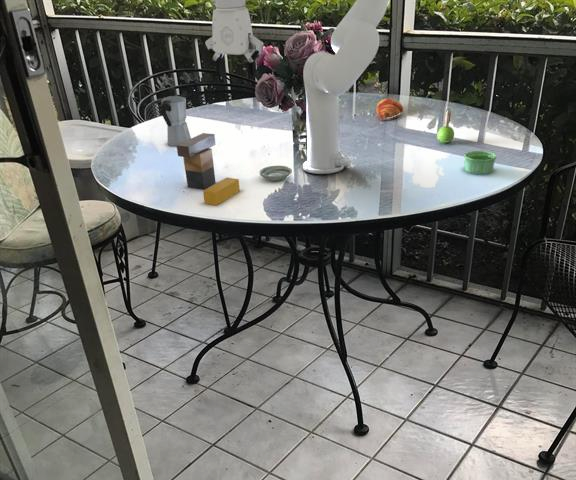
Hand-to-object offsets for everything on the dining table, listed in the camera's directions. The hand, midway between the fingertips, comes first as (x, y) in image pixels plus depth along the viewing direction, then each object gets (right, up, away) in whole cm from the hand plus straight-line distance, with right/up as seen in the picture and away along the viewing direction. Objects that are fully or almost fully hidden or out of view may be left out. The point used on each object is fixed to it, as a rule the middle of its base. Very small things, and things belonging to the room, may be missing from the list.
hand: (236, 77), depth 164 cm
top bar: (-5, -30, +8) cm, 31 cm away
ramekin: (+70, -19, +17) cm, 75 cm away
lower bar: (-12, -16, +11) cm, 22 cm away
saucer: (+10, -21, +18) cm, 30 cm away
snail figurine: (+66, -3, +39) cm, 77 cm away
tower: (-12, -24, +17) cm, 31 cm away
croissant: (+53, +20, +71) cm, 91 cm away
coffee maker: (-25, +3, +53) cm, 59 cm away
